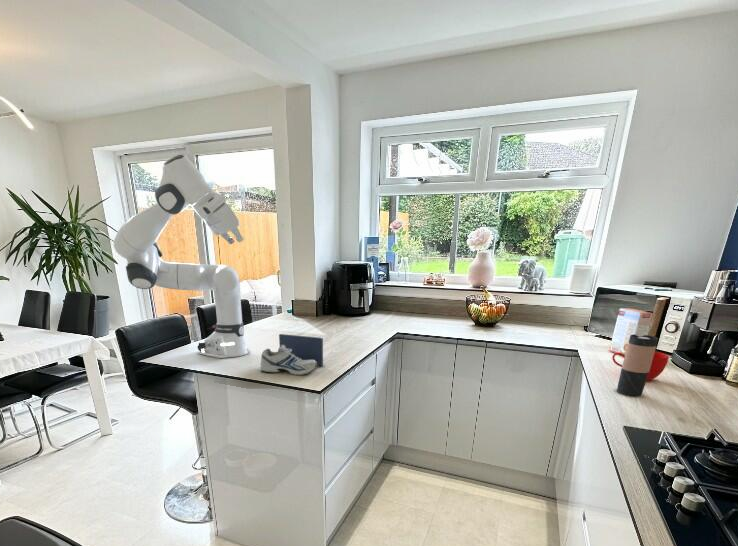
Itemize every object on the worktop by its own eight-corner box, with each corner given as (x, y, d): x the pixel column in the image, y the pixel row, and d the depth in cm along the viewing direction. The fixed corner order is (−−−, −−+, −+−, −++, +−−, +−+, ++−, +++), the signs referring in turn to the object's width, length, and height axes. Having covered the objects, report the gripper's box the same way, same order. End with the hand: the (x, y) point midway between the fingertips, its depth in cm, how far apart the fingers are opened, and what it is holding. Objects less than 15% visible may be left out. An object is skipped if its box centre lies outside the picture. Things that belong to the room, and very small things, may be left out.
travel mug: (634, 398, 133) (650, 340, 126) (610, 391, 139) (625, 335, 133) (647, 394, 136) (663, 338, 130) (623, 388, 143) (637, 333, 136)
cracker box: (641, 359, 179) (654, 312, 172) (628, 359, 179) (640, 312, 172) (620, 351, 192) (632, 307, 185) (608, 351, 192) (619, 307, 185)
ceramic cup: (609, 369, 164) (614, 346, 160) (660, 377, 154) (668, 352, 151) (607, 377, 154) (613, 352, 150) (662, 386, 145) (670, 360, 141)
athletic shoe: (316, 375, 153) (316, 344, 152) (257, 375, 154) (256, 344, 153) (318, 373, 163) (317, 344, 162) (262, 373, 164) (262, 344, 163)
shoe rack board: (280, 361, 172) (279, 334, 168) (281, 360, 173) (280, 333, 169) (321, 366, 165) (321, 338, 161) (323, 365, 167) (323, 337, 163)
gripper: (193, 216, 136) (221, 249, 143) (209, 207, 120) (240, 245, 127) (207, 204, 138) (233, 239, 145) (224, 194, 121) (254, 233, 128)
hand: (236, 242), depth 136 cm, fingers open, 8 cm apart
